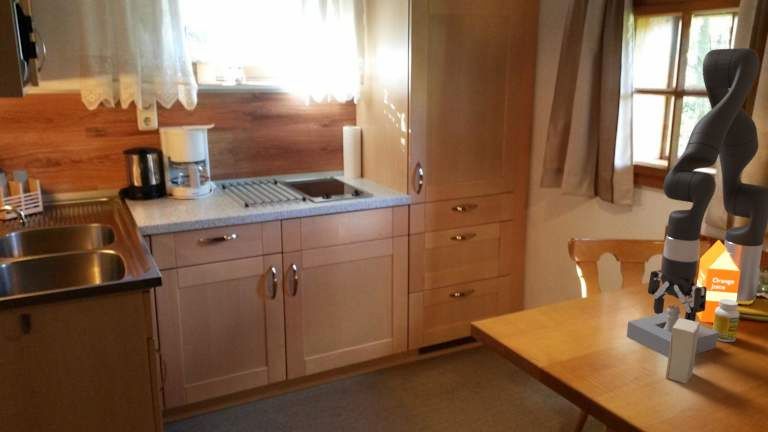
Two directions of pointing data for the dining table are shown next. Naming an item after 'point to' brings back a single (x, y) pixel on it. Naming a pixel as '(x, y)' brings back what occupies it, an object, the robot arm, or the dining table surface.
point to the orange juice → (717, 279)
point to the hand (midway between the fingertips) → (673, 319)
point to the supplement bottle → (726, 320)
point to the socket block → (665, 334)
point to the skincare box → (682, 350)
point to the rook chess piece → (671, 317)
